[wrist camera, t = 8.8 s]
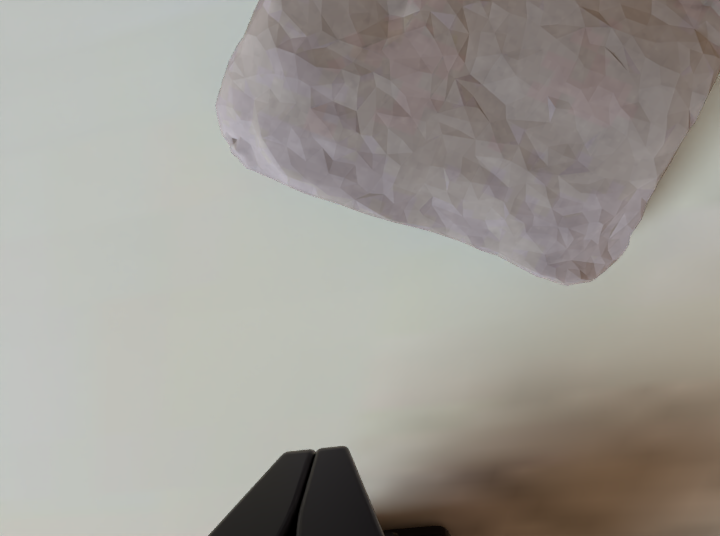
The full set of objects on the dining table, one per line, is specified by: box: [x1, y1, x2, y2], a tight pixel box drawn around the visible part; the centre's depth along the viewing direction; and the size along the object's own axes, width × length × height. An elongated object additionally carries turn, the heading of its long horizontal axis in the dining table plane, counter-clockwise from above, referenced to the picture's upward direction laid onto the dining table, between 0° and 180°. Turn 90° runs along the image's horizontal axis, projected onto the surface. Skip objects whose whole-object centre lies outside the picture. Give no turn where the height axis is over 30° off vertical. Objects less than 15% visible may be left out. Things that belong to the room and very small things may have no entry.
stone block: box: [215, 0, 720, 286], centre depth 16 cm, size 12×5×10 cm
